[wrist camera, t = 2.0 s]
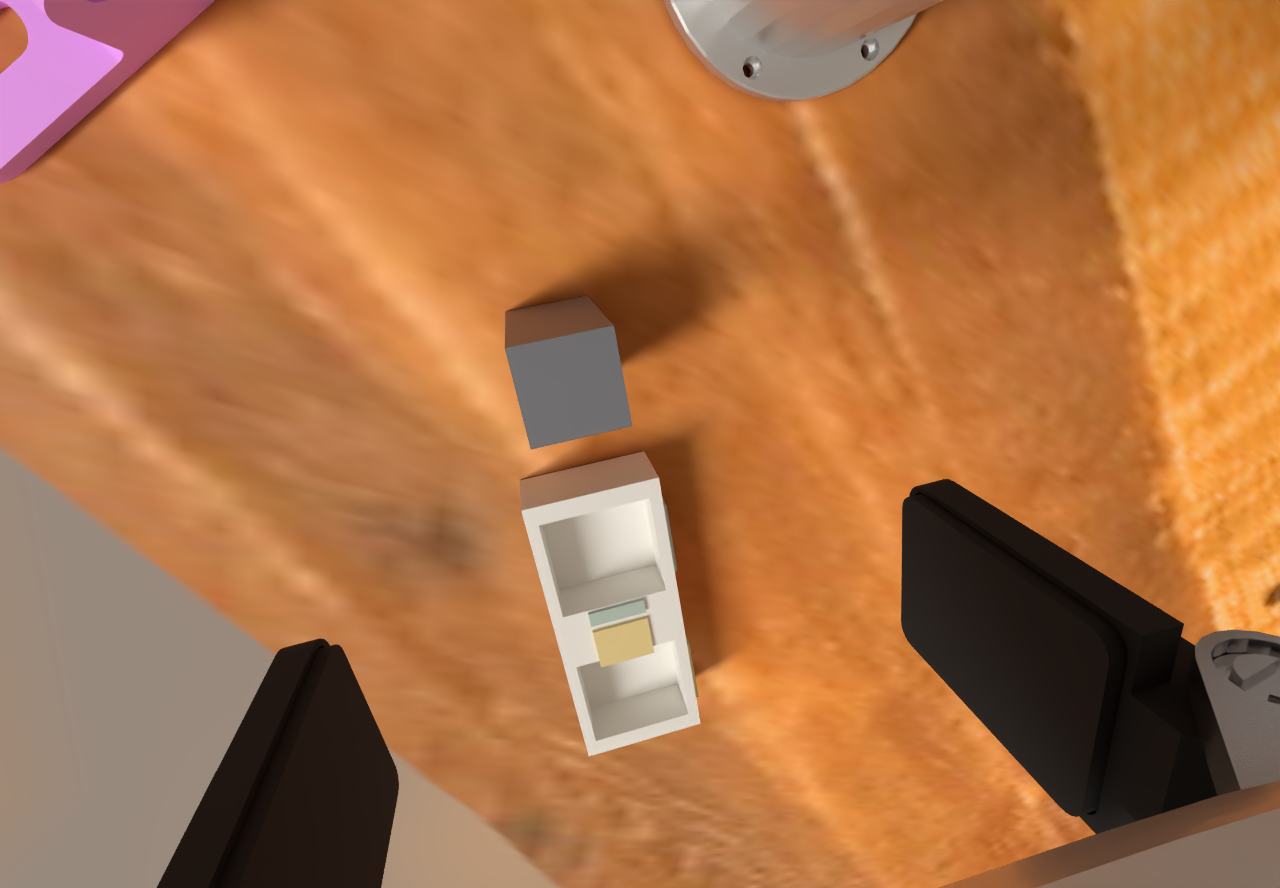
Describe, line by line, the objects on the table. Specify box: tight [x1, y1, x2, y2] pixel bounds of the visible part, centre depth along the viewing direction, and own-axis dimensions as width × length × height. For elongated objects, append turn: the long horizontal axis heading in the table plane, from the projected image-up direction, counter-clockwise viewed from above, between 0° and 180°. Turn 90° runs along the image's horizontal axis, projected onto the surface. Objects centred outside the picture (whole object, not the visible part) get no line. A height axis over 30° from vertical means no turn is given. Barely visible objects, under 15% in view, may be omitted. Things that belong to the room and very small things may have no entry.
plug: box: [505, 295, 632, 449], centre depth 26 cm, size 4×4×8 cm
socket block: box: [520, 451, 700, 756], centre depth 34 cm, size 7×17×4 cm, turn 10°
